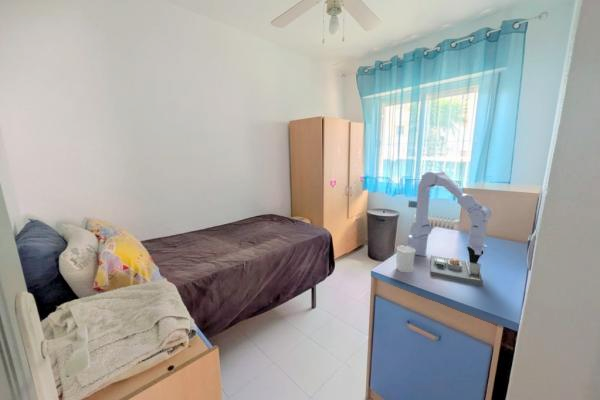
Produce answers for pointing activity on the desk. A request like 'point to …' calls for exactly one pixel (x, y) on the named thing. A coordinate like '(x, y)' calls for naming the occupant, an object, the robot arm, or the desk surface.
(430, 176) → the robot arm
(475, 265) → the grey boxy piece
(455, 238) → the desk surface
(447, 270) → the panel
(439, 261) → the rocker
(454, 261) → the push button
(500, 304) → the desk surface
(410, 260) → the white cup
